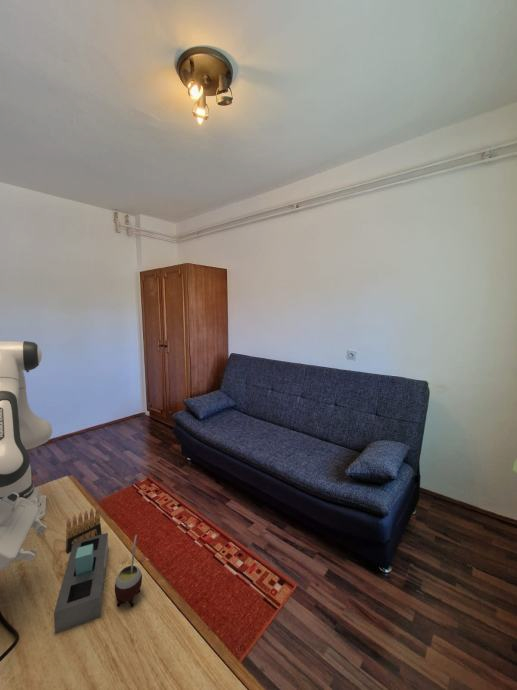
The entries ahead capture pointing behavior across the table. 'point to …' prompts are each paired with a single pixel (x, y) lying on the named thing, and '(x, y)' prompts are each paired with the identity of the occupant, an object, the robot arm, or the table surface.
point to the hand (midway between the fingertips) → (39, 543)
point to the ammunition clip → (82, 528)
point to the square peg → (84, 560)
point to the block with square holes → (82, 587)
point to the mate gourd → (128, 582)
